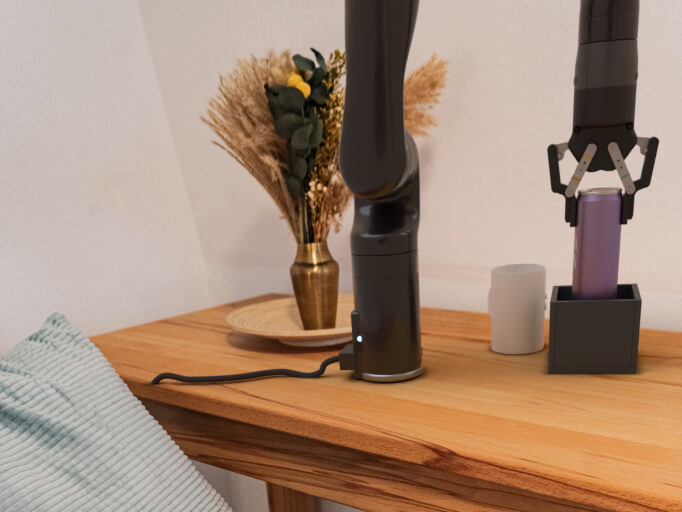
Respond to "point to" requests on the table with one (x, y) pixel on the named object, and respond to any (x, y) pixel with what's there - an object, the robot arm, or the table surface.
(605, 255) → the beverage can
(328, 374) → the table surface
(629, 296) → the waste bin
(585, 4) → the robot arm
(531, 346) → the mug
